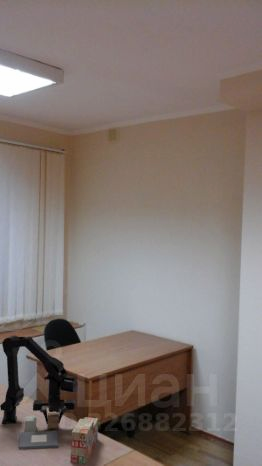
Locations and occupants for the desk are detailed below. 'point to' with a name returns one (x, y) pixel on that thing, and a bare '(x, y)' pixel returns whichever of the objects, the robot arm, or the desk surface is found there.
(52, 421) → the walnut block
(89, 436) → the stack of blocks
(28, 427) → the sage block
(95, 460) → the desk surface
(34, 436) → the blueprint board
